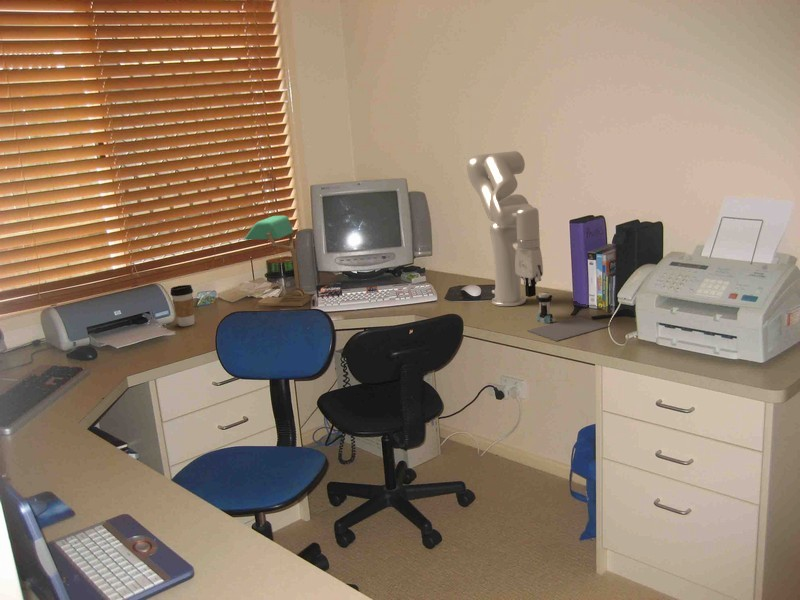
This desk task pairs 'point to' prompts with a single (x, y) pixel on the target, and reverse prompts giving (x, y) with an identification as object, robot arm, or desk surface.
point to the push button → (544, 307)
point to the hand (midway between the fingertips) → (530, 295)
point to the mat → (567, 328)
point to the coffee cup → (183, 304)
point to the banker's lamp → (275, 230)
